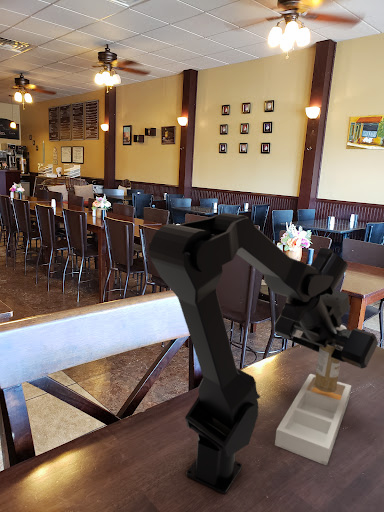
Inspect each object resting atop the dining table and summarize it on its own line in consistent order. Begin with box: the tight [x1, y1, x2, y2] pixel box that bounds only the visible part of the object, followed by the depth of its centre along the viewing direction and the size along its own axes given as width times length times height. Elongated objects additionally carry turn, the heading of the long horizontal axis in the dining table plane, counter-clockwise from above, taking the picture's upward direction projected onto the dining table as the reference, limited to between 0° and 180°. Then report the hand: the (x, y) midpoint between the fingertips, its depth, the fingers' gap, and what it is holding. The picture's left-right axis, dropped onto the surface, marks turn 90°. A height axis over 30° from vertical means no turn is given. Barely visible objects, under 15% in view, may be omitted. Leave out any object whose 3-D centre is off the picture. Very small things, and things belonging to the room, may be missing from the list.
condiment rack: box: [274, 373, 352, 466], centre depth 74 cm, size 24×8×3 cm, turn 150°
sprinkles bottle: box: [314, 324, 347, 393], centre depth 78 cm, size 5×5×14 cm
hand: (333, 355), depth 79 cm, fingers closed on sprinkles bottle, 4 cm apart
